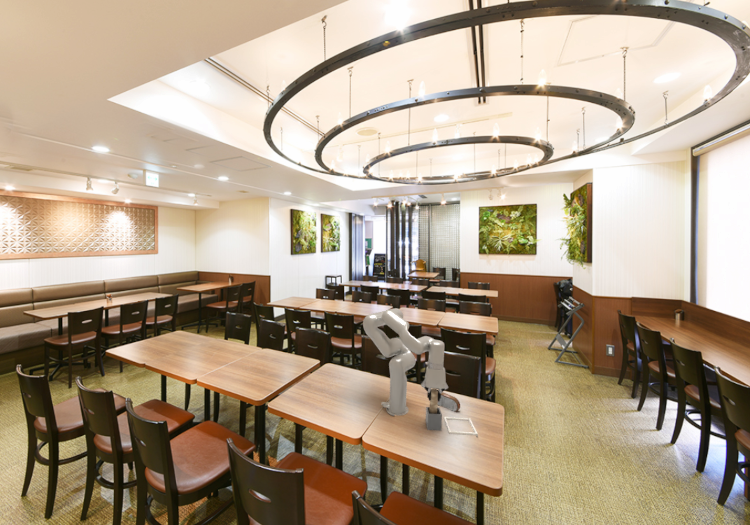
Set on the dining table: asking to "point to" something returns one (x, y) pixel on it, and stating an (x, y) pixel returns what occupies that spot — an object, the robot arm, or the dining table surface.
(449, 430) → the white square frame
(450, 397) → the tin
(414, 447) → the dining table surface
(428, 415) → the holder
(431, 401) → the dowel
